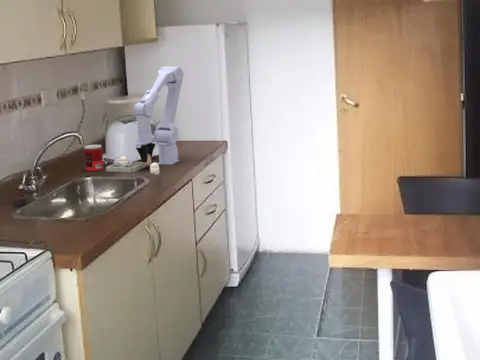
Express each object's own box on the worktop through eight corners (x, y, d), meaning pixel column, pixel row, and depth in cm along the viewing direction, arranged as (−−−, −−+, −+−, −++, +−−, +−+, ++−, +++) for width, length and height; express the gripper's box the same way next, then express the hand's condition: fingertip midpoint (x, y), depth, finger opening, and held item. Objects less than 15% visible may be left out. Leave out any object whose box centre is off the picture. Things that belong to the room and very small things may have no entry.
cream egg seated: (122, 165, 305) (121, 155, 304) (129, 166, 304) (128, 155, 302) (117, 167, 301) (117, 156, 300) (125, 168, 300) (124, 157, 299)
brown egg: (145, 163, 300) (144, 152, 298) (152, 163, 298) (152, 152, 297) (141, 165, 296) (140, 154, 295) (148, 165, 295) (148, 154, 294)
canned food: (105, 168, 304) (103, 144, 301) (100, 172, 296) (98, 147, 293) (89, 168, 304) (87, 144, 302) (83, 172, 297) (81, 147, 294)
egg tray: (120, 166, 307) (120, 161, 306) (147, 167, 303) (146, 162, 302) (105, 172, 295) (105, 167, 294) (133, 173, 291) (132, 168, 290)
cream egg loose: (152, 172, 292) (152, 161, 291) (160, 173, 290) (160, 161, 289) (148, 174, 288) (148, 163, 287) (157, 175, 287) (156, 163, 286)
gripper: (143, 127, 302) (146, 157, 305) (128, 133, 288) (130, 164, 292) (158, 127, 299) (160, 157, 302) (143, 133, 286) (145, 164, 289)
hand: (146, 161), depth 297 cm, fingers closed on brown egg, 4 cm apart
